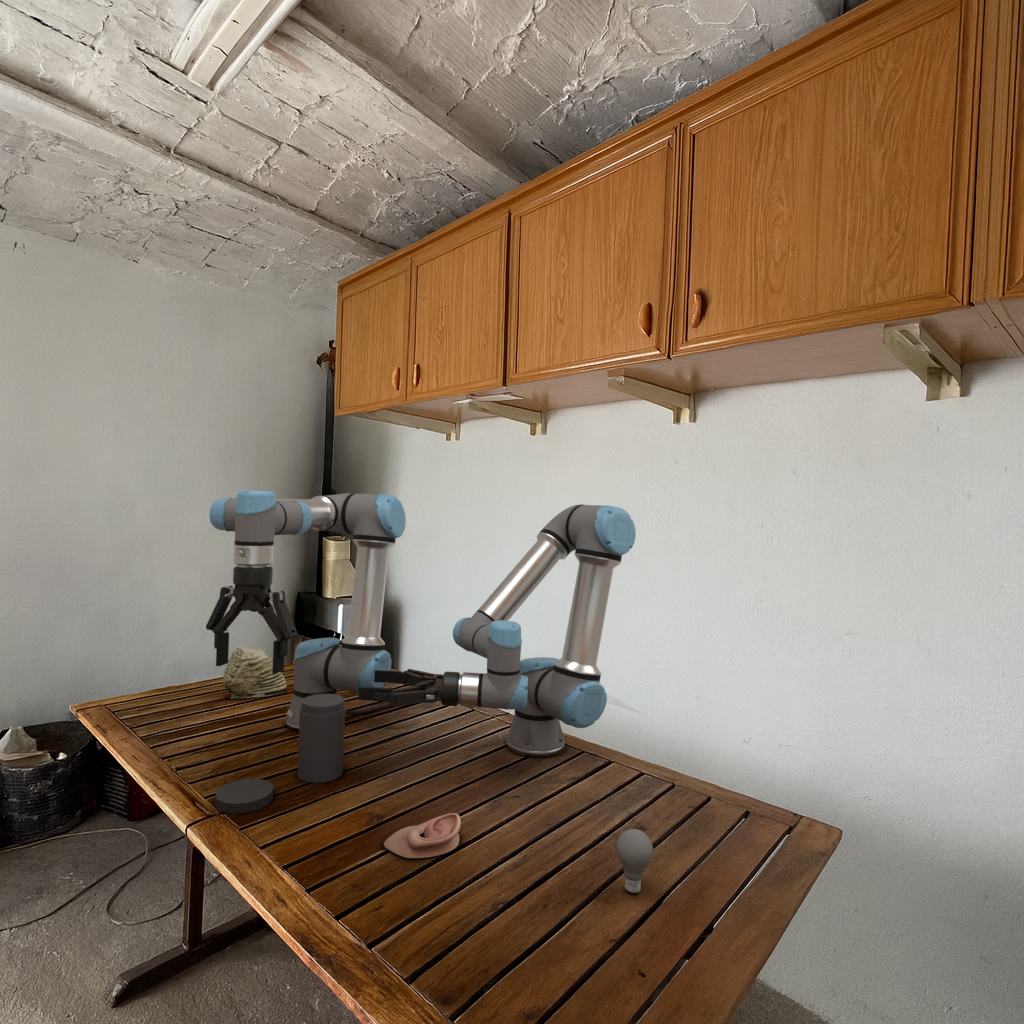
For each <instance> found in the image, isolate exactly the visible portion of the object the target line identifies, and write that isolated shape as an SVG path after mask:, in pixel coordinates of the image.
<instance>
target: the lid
mask: <svg viewBox="0 0 1024 1024" xmlns="http://www.w3.org/2000/svg"><path fill="white" fill-rule="evenodd" d="M274 794H275V791H274V784H273V783H272V782H270V781H269V780H267V779H261V778H246V779H245V778H243V779H238V780H234V781H232V782H228V783H226V784H224V785H222V786H220V787H219V788H218V789H217V790H216V791H215V795H214V807H215V809H216V810H217V811H219V812H222V813H226V814H230V815H231V814H232V815H233V814H238V815H239V814H248V813H251V812H255V811H258V810H261V809H262V808H265V807H267V806H268V805H269V804H270V803H272V801H273V799H274V798H275V797H274V796H275V795H274Z"/></svg>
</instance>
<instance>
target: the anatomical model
mask: <svg viewBox="0 0 1024 1024" xmlns="http://www.w3.org/2000/svg"><path fill="white" fill-rule="evenodd" d="M461 820H462V819H461V816H460V815H459V813H456V812H450V813H446V814H443V815H439V816H437V817H434V818H431V819H428V820H427V821H425V822H423V823H420V824H418V825H409V826H406V827H403V828H400V829H399V830H397V831H395V832H394V833H393V834H391V835H390V836H388V838H386V839H385V841H384V842H383V847H384V848H385V849H386V850H388V851H389V852H391V853H393V854H395V855H396V856H400V857H402V858H405V859H425V858H432V857H436V856H440V855H441V856H442V855H444V854H447V853H449V852H451V851H453V850H456V848H457V847H458V845H459V843H460V834H459V832H460V829H461V826H462V825H461V824H462V822H461Z"/></svg>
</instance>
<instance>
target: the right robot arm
mask: <svg viewBox="0 0 1024 1024" xmlns="http://www.w3.org/2000/svg"><path fill="white" fill-rule="evenodd" d="M636 534H637V533H636V525H635V522H634V520H633V519H632V516H631V514H629V512H628V511H626V510H625V509H624V508H622V507H619V506H613V505H607V504H605V505H600V504H574V505H571V506H569V507H567V508H565V509H563V510H562V511H561V512H559V513H558V514H556V515H555V516H554V517H553V518H552V519H550V520H549V521H548V522H547V523H546V525H545V526H543V528H542V529H541V530H540V531H539V533H537V535H536V540H537V541H535V543H534V544H533V545H532V546H531V548H529V550H528V551H527V552H526V553H525V554H524V555H523V557H522V558H521V559H520V560H519V561H518V563H517V564H516V565H515V566H514V567H513V568H512V569H511V570H510V572H509V573H508V574H507V575H506V576H505V578H504V579H503V580H502V581H501V582H500V583H499V585H498V586H497V587H496V588H495V589H494V590H493V592H492V593H491V594H490V595H489V596H488V597H487V599H486V600H485V601H484V602H483V604H482V605H481V606H480V607H479V608H478V609H477V610H476V611H475V613H473V615H472V616H471V617H463V618H461V619H459V620H458V621H457V622H456V623H455V624H454V626H453V629H452V638H453V641H454V643H455V644H456V645H457V646H458V647H460V648H462V649H463V650H465V651H466V652H471V653H473V654H475V655H478V656H480V657H482V658H484V659H486V673H483V672H482V673H481V672H468V671H464V672H463V673H462V674H461V673H460V672H459V671H444V672H443V674H442V673H433V672H427V671H423V670H418V669H414V668H413V669H412V668H407V670H403V671H400V670H390V671H383V670H375V673H374V682H380V683H385V684H399V685H400V684H402V685H403V686H405V685H409V686H407V687H401V688H395V689H394V688H393V687H391V686H388V687H382V688H374V687H359V693H358V701H369V702H387V704H389V705H390V706H392V707H396V706H405V705H415V704H417V705H418V704H434V703H436V700H435V698H436V697H440V698H441V700H440V703H441V705H442V706H443V707H444V706H445V707H457V706H459V705H460V707H465V708H467V707H468V708H469V709H470V710H473V709H475V708H483V709H484V708H485V709H497V710H506V711H507V710H514V716H513V719H512V721H511V722H509V729H508V731H507V732H508V733H507V735H506V745H505V746H506V747H507V749H508V750H510V751H512V752H513V753H515V754H518V755H521V756H525V757H530V758H547V757H548V758H549V757H553V756H558V755H559V754H561V753H562V752H563V751H564V750H565V746H566V745H565V736H564V733H563V729H562V724H561V722H562V723H563V724H564V725H566V726H571V727H574V728H577V729H586V728H588V727H591V726H592V725H594V724H595V723H596V721H598V720H600V718H601V716H602V715H603V714H604V711H605V708H606V707H607V701H608V700H607V699H608V695H607V692H606V688H605V687H604V685H602V683H601V678H602V677H601V676H602V671H601V670H600V668H599V667H598V665H597V663H598V659H599V652H600V645H601V642H602V636H603V635H602V634H603V631H604V630H603V629H604V625H605V620H606V619H605V618H606V613H607V609H608V608H607V607H608V602H609V596H610V591H611V586H612V585H611V584H612V579H613V574H614V569H615V568H616V567H618V566H619V565H620V564H622V557H623V555H625V554H627V553H629V552H630V550H631V549H632V548H633V546H634V544H635V541H636ZM572 552H574V556H575V558H576V559H577V561H578V568H577V574H576V577H575V578H576V579H575V584H574V588H573V589H574V590H573V595H572V601H571V606H570V610H569V611H570V612H569V617H568V622H567V628H566V632H565V633H566V634H565V640H564V643H563V649H562V656H561V658H557V657H547V656H542V657H541V656H540V657H538V656H537V657H528V658H524V659H521V653H522V643H523V639H522V626H521V624H520V623H519V622H517V621H512V620H510V619H511V618H512V617H513V616H514V614H515V613H517V611H518V610H519V609H520V608H521V606H522V605H523V604H524V603H525V602H526V600H527V599H528V598H529V597H530V595H531V594H532V593H533V592H534V591H535V589H536V588H537V587H538V586H539V585H540V583H542V581H544V579H545V578H546V577H547V575H548V574H549V573H550V572H551V570H552V569H553V568H554V567H555V566H556V565H557V563H559V561H560V560H565V559H567V557H568V556H569V555H570V554H571V553H572Z"/></svg>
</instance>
